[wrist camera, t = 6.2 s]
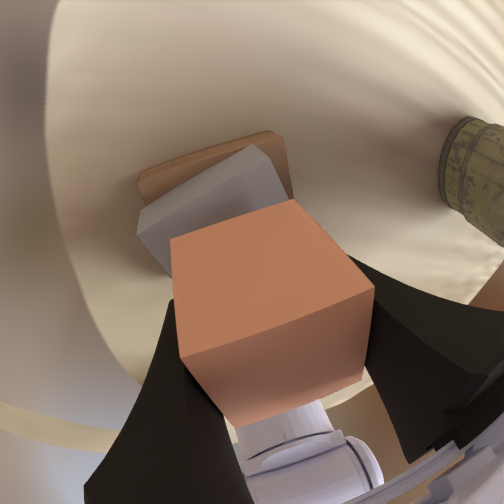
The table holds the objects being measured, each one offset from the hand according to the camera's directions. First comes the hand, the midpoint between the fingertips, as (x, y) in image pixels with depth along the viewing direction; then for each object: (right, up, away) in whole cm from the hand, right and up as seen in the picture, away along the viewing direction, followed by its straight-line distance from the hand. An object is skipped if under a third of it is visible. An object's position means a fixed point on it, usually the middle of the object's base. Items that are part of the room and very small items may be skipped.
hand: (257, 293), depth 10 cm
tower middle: (-2, +3, +5) cm, 6 cm away
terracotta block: (0, +1, +1) cm, 2 cm away
